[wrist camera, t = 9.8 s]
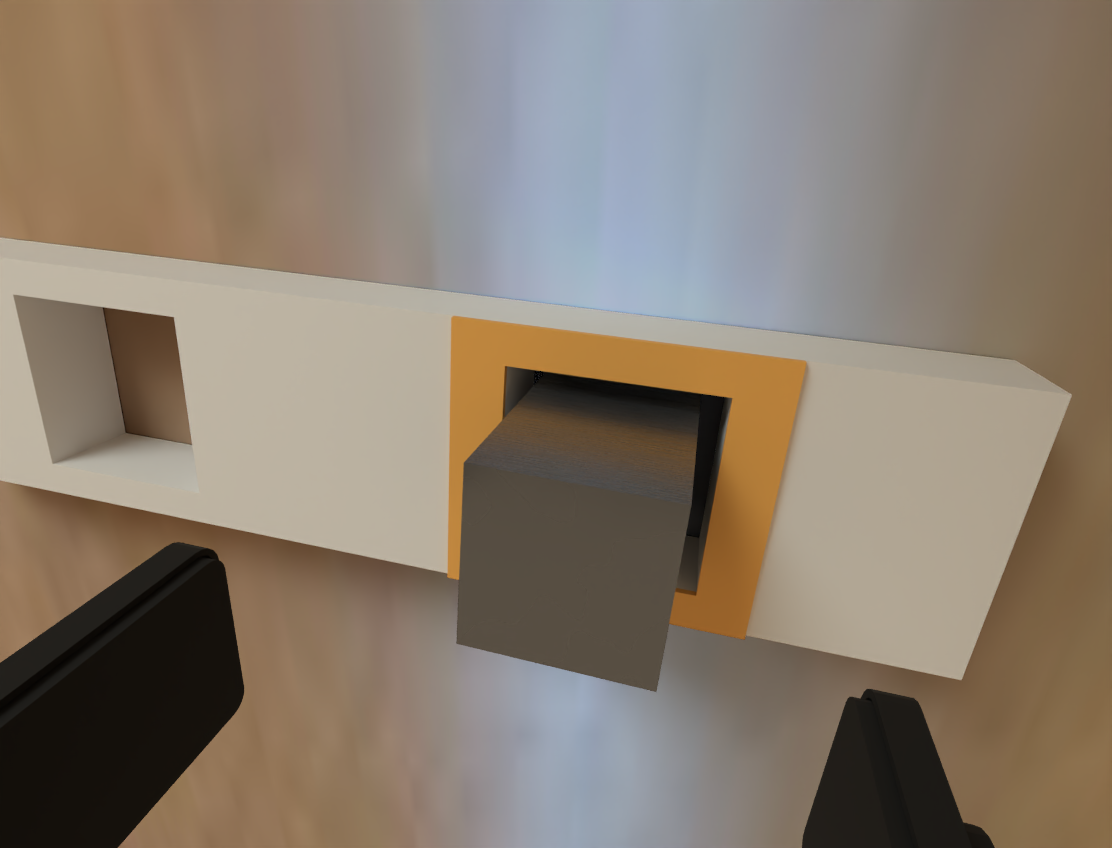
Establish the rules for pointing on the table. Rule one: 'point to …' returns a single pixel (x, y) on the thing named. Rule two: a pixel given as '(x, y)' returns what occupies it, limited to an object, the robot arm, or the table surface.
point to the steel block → (579, 527)
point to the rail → (486, 399)
